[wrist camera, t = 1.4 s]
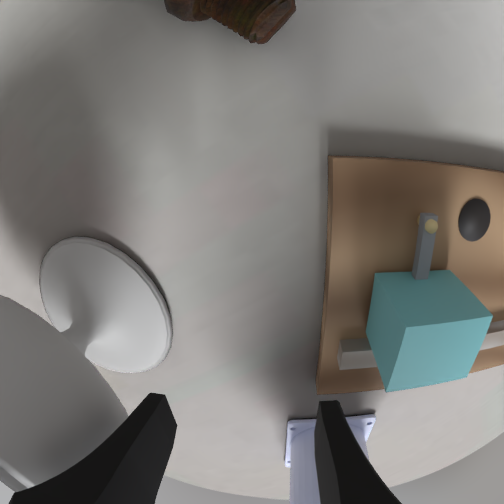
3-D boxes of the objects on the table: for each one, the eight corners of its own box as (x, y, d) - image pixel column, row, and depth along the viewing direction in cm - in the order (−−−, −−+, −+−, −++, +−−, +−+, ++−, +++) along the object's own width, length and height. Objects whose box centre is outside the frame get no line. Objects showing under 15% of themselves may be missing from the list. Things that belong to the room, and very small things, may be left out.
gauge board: (533, 343, 19) (545, 358, 16) (315, 380, 21) (318, 407, 19) (576, 188, 13) (596, 196, 10) (328, 155, 15) (337, 160, 12)
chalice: (224, 299, 19) (151, 544, 5) (147, 399, 24) (91, 537, 10) (55, 184, 17) (-132, 281, 3) (27, 314, 22) (-66, 417, 8)
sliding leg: (435, 325, 16) (466, 377, 12) (365, 331, 17) (385, 392, 12) (459, 212, 14) (513, 245, 9) (381, 209, 14) (422, 246, 9)
